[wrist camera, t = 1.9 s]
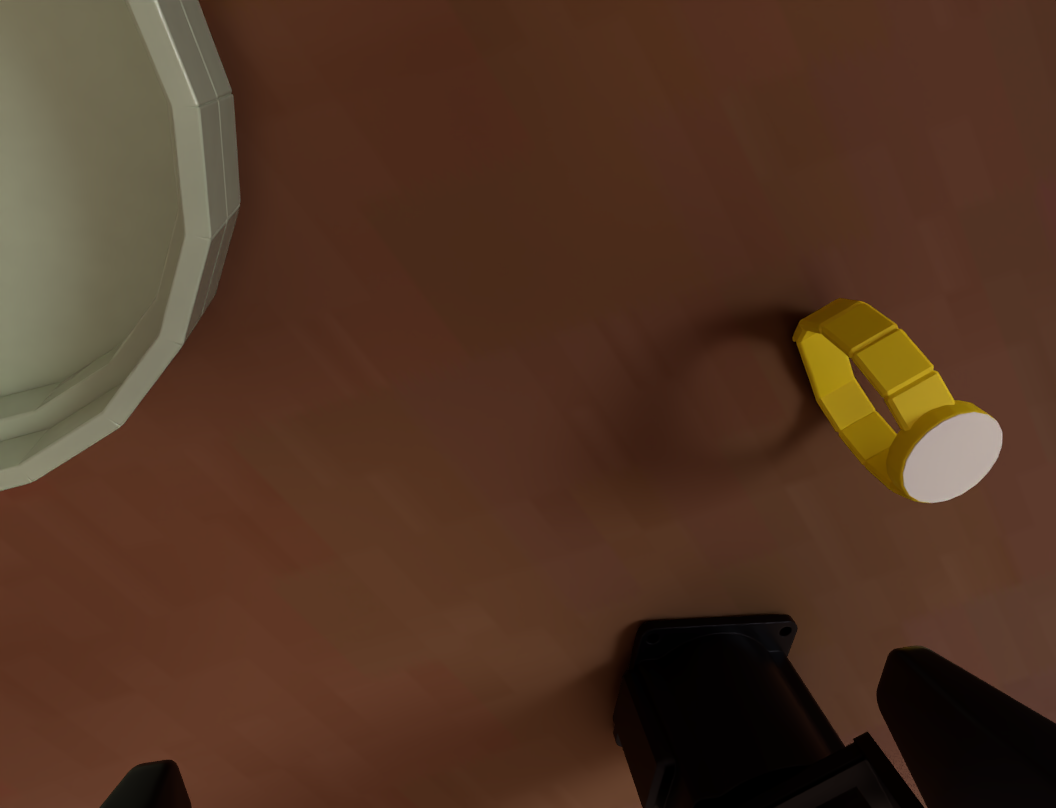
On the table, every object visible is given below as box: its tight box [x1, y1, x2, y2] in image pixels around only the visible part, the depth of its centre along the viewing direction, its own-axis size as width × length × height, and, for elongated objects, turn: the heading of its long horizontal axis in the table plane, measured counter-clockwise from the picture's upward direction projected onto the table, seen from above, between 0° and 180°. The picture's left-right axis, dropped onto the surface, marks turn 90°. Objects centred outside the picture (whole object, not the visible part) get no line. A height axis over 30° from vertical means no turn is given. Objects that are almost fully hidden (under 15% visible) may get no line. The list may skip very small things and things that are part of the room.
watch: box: [792, 298, 1002, 503], centre depth 20 cm, size 6×3×6 cm, turn 30°
